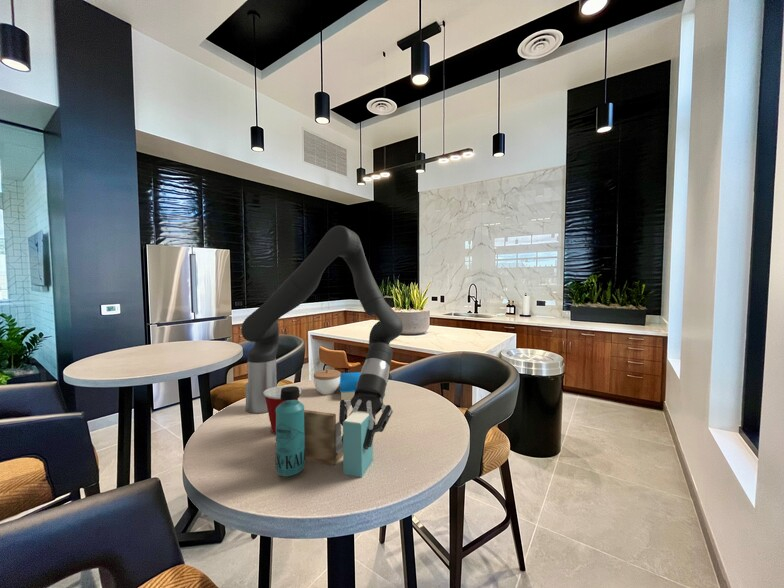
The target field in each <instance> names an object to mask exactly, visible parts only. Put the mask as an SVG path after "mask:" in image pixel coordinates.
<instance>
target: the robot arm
mask: <svg viewBox="0 0 784 588" xmlns="http://www.w3.org/2000/svg"><path fill="white" fill-rule="evenodd" d="M365 255H366V254H365V252H364V248H363V245H362V242H361V239H360V237H359V235H358V234H357V232H355V231H353V230H351V229H349V227H348V228H347V227H346V226H344V225H335V226H333V227H331V228H330V229H328V231H327V232H326V233H325V234H324V235H323V237H322V238H321V240H320V241H319V242H318V243H317V245H316V246H315V247H314V249H313V250H312V251H311V253H310V254H308V256H307V257H306V258H305V259H304V260H303V261H302V262H301V264H300V265H299V266H298V267H297V268H295V270H293V272H292V273H291V274H290V275H288V277H286V279H285V280H284V281H283V282H282V284H280V285H279V287H278V288H277V289H276V290H275V291H274V292H273V293H272V294H271V295H270V296H269V297H268V299H267V300H266V301H265V302H263V304H261V305H259V307H258V308H257V309H255V310H254V311H253V312H251V314H249V315H248V316H247V317H246V318H245V319H244V321H243V322H242V324H241V328H240V330H241V336H242V338H243V339H245V341H248V342H251V343H254V345H253V347H252V349H250V350H249V351H248V353H247V382H246V383H245V410H246V412H249V413H253V414H264V413H268V408H267V404H266V400H265V396H264V394H263V392H264V391H265V390H267V389H269V388H273V387H278V384H277V382H278V381H277V353H278V350H279V341H280V340H279V335H280V331H279V329H280V328H279V322H278V320H279V319H280V318H282V317H284V316H285V315H286V314H288V313H289V312H290V311H292V310H294V309H295V308H297V307H299V306H300V305H301V304H302V303H304V302H305V301H306V300H307V299H308V298H309V297H310V296H311V295H312V294H313V293H314V292H315V291H316V290H317V288H318V286H319V284H320V282H321V279H322V275H323V273H324V272H325V270H326V268H327V267H328V266H329V265H330V264H332V262H333V261H334V260H336V259H337V258H338V257H340V258H342V259H343V260H344V261H345V263H346V264H347V266H348V267H349V269H350V272H351V274H352V278H353V284H354V288H355V293H356V296H357V297H358V300H359V302H360V305H361V306H362V308H363V310H364V312H365V313H366V315H367V316H370V317H372V316H376V318H377V319H378V321H377V322H376V323H375V324H374V325H373V326H372V327H371V329H370V332H369V339H368V340H369V341H368V350H367V353H366V357H365V360H364V363H363V365H362V367H361V371H360V372H361V373H360V377H359V380H358V383H357V386H356V390H355V394H354V397H353V398H352V399H351V400H341V399H340V402H339V414H338V416H339V417H338V422H340V424H341V427H343V422H344V421H345V420H346V419H347V418H348V417H349V416H350V415H351V414H352V413H353V412H357V411H364V412H367V413H368V414H369V415H370V417H369V424H368V428H369V429H368V430H367V432H366V436H365V440H364V444H363V447H364V449H366V450H368V448H369V447H371V445H372V441H374V436H375V434H376V433H378V432H380V433H382V432H383V431H384V430H385V429H386V426H387V425H388V422H389V420H390V418H391V416H392V414H393V413H394V410H393V408H392V407H391V405H390V404H387V405H386V404H384V401H383V400H384V397H385V396H384V394H385V395H386V388H387V385H388V382H389V376H390V369H391V364H392V359H393V355H394V354H393V353H394V351H393V348H392V347H391V345H390V344H391V342H392V341H393V340H395V339H397V338H398V337H399V336H401V335H402V333H403V330H404V329H403V328H404V326H403V323H402V319H401V317H399V315H398V314H397V313H396V311H394V309H393V308H392V307H391V306H390V305H389V304H388V302H387V301H386V300H385V298H384V295H383V293H382V291H381V290H380V288H379V286H378V284H377V281H376V280H375V278H374V275H373V273H372V270H371V269H370V266H369V263H368V260H367V257H366V256H365ZM350 407H351V408H352V410H351V411H350V413H349V416H348V411H349V410H350ZM380 412H381V415H380V417H379V420H378V421H377V419H376V415H377V414H379V413H380ZM341 436H342V442H343V434H341Z"/></svg>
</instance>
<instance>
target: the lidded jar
mask: <svg viewBox="0 0 784 588" xmlns="http://www.w3.org/2000/svg"><path fill="white" fill-rule="evenodd" d="M341 373H342V372H341V371H339V370H338V369H337V370H336V369H329V368H326V369H323V370H319V371H316V372H314V373H313V383H314V387H315V389H316V390H317V391H318V392H319V394H320V395H324V396H325V395H333V394H335V393H336V391H337V390H338V388H339V387H340V375H341Z"/></svg>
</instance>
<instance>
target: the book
mask: <svg viewBox="0 0 784 588" xmlns="http://www.w3.org/2000/svg"><path fill="white" fill-rule="evenodd" d="M360 373H361V371H358V372H356V371H355V372H341V375H340V385H339V387H340V388H339V393H340V401H341V400H344V401H350V400H351V399H352V398H353V397H354V394H355V390H356V386H357V383H358V380H359V377H360ZM385 395H386V393H385V394H384V397H385Z"/></svg>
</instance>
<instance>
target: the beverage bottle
mask: <svg viewBox="0 0 784 588" xmlns="http://www.w3.org/2000/svg"><path fill="white" fill-rule="evenodd" d="M299 389H300V388H299V387H298V386H294V385H292V386H289V387H285V388H282V389H281V396H280V398H281V399H282V400H287V401H284V402H282V403H280V404H279V405H278V406H277V408H276V434H275V441H274V443H275V453H274V454H275V461H274V462H275V470H276V473H277V474H278V475H280V476H283V477H289V476H290V477H291V476H294V475H297V474H299V473H300V472H302V471H303V470H304V468H305V464H306V460H305V433H304V410H305V405H304V403H302V402H301V401H300V400H299V398H300V395H301V394H299ZM297 398H298V400H294V399H297Z"/></svg>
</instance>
